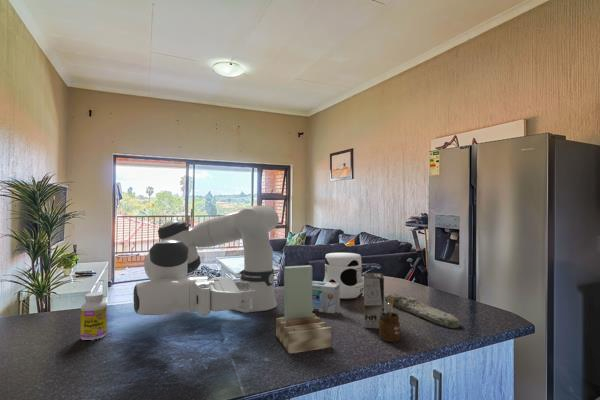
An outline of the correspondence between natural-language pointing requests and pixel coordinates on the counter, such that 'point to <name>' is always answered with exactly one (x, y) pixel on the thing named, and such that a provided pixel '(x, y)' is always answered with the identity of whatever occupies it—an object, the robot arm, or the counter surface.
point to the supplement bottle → (93, 317)
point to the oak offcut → (306, 327)
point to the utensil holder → (389, 324)
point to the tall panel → (297, 292)
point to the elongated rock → (423, 310)
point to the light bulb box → (325, 297)
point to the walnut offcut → (302, 321)
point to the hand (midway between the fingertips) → (253, 288)
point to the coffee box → (373, 299)
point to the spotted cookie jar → (345, 274)
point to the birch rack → (303, 336)
